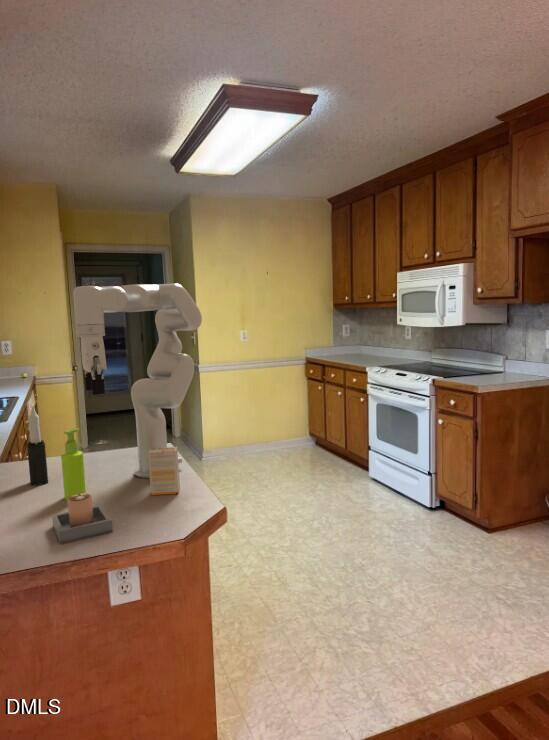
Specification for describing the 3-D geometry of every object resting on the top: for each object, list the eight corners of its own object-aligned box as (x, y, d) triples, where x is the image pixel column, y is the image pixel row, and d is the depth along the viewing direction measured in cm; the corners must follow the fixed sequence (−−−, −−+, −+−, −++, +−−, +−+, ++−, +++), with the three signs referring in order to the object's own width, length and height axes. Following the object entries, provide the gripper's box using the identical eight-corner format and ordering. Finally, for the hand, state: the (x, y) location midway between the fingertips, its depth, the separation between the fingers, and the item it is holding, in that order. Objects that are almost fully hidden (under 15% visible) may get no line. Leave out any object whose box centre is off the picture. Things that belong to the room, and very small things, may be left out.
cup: (91, 520, 133) (88, 490, 132) (96, 527, 128) (93, 496, 127) (68, 525, 130) (65, 494, 129) (72, 533, 125) (69, 501, 124)
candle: (31, 486, 164) (24, 408, 161) (30, 481, 168) (23, 405, 165) (48, 483, 166) (42, 406, 163) (47, 479, 170) (40, 403, 168)
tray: (101, 516, 137) (101, 505, 137) (112, 531, 127) (111, 520, 126) (53, 526, 131) (52, 515, 131) (59, 544, 121) (58, 531, 120)
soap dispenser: (93, 493, 155) (88, 427, 152) (75, 501, 148) (69, 433, 146) (78, 491, 157) (73, 426, 155) (60, 499, 151) (54, 431, 149)
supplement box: (180, 488, 156) (178, 446, 155) (178, 494, 152) (176, 450, 150) (152, 490, 156) (150, 447, 155) (150, 495, 151) (147, 452, 150)
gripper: (111, 331, 139) (115, 394, 141) (98, 330, 154) (102, 387, 156) (82, 332, 135) (87, 397, 137) (71, 331, 150) (75, 389, 152)
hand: (95, 391), depth 146 cm, fingers open, 9 cm apart
